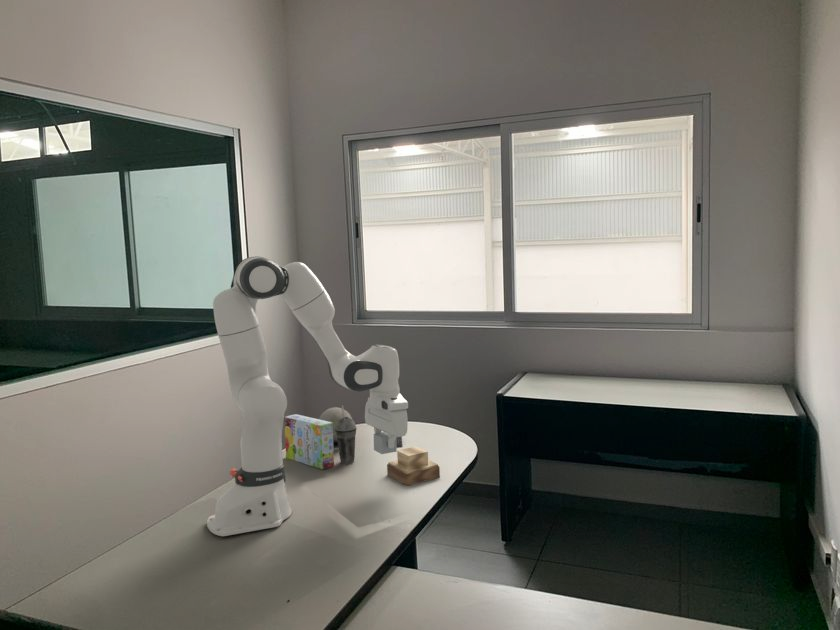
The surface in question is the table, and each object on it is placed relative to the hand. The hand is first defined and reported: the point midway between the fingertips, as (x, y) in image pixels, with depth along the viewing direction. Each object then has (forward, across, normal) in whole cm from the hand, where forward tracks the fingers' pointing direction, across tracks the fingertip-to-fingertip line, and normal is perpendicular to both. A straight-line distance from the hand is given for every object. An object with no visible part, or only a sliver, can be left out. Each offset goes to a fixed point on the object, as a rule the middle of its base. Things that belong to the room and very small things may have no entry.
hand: (385, 445), depth 186 cm
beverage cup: (+13, -29, +1) cm, 32 cm away
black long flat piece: (+13, -36, +25) cm, 46 cm away
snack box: (+14, -38, -9) cm, 41 cm away
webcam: (+13, -47, +5) cm, 49 cm away
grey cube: (+2, 0, 0) cm, 2 cm away
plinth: (+13, -4, +12) cm, 18 cm away
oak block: (+9, -4, +12) cm, 15 cm away
